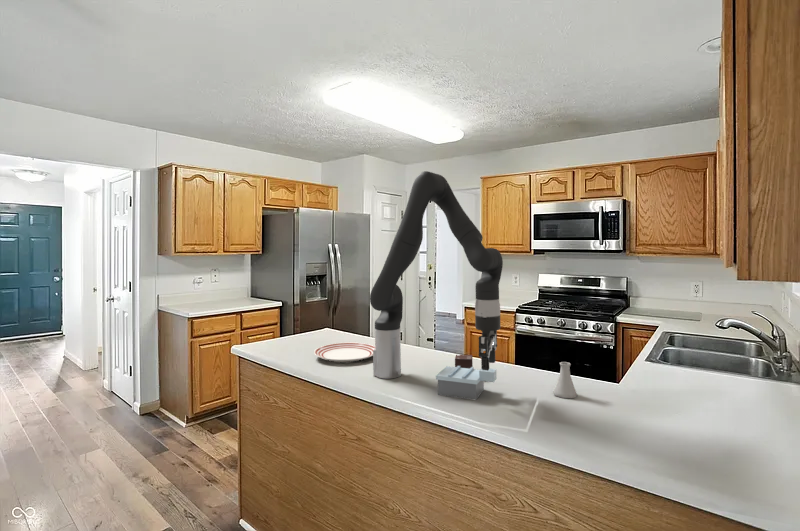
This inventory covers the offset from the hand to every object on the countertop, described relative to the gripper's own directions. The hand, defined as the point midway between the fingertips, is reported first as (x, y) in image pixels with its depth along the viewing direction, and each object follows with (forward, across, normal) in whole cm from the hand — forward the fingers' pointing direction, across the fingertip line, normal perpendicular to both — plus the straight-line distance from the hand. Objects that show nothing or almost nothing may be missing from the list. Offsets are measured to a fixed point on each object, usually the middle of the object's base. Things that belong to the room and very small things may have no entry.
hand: (488, 366), depth 132 cm
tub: (+10, 0, -9) cm, 13 cm away
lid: (+4, 0, -7) cm, 8 cm away
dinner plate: (+9, -26, -67) cm, 72 cm away
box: (+10, -17, -13) cm, 23 cm away
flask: (+10, -11, +21) cm, 26 cm away
